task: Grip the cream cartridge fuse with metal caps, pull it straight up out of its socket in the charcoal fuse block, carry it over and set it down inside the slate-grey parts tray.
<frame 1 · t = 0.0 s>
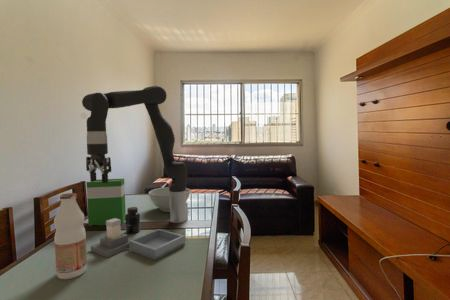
hand: (99, 182, 104), 29 cm above the table, tool pointing down, fingers open, 8 cm apart
decorative bowl: (170, 209, 167), on the table
green cereal box: (107, 223, 142), on the table
supplement bottle: (133, 232, 128), on the table
fuse block: (114, 247, 110), on the table
parts tray: (157, 247, 109), on the table
fuse: (114, 243, 109), point 2 cm above the table, touching fuse block
fruit juice: (72, 273, 90), on the table
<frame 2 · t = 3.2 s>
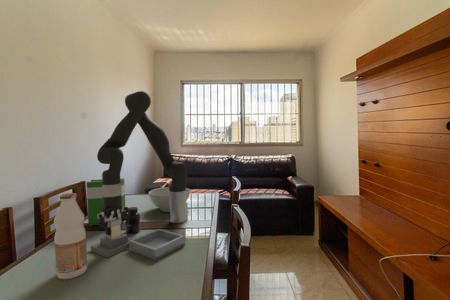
hand: (113, 233, 109), 6 cm above the table, tool pointing down, fingers closed on fuse, 4 cm apart
fuse: (114, 243, 109), point 2 cm above the table, touching fuse block, gripper
everything else where it was.
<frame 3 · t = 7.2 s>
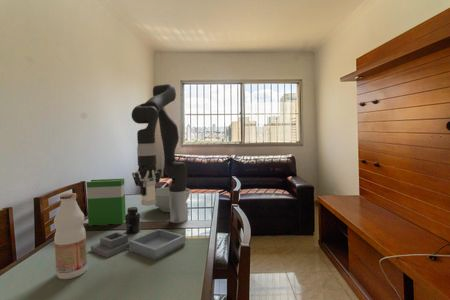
hand: (148, 194, 108), 23 cm above the table, tool pointing down, fingers closed on fuse, 4 cm apart
fuse: (148, 204, 108), point 19 cm above the table, touching gripper
everything else where it was.
when the fingers open (7 cm above the table, at t = 11.4 s): fuse drops 2 cm, resting on parts tray.
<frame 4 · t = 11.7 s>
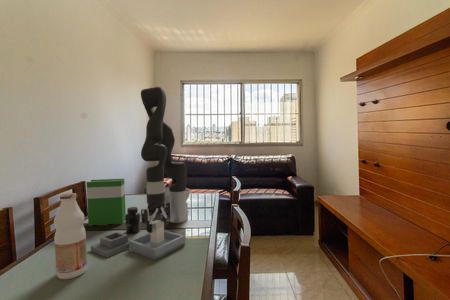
hand: (157, 229, 109), 8 cm above the table, tool pointing down, fingers open, 7 cm apart
fuse: (157, 245, 109), point 1 cm above the table, touching parts tray
everything else where it was.
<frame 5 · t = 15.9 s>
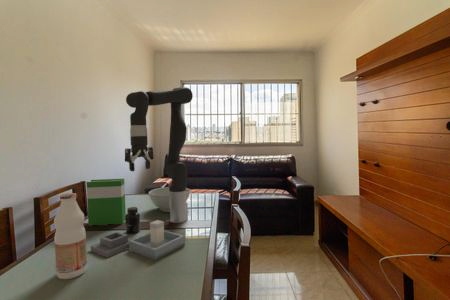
hand: (140, 169, 119), 32 cm above the table, tool pointing down, fingers open, 8 cm apart
nothing on the table moved.
at the end: fuse inside the target area on the parts tray (0.0 cm from its centre), point 1.0 cm above the parts tray's base; the gripper is holding nothing; fuse moved 18.9 cm from its start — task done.
